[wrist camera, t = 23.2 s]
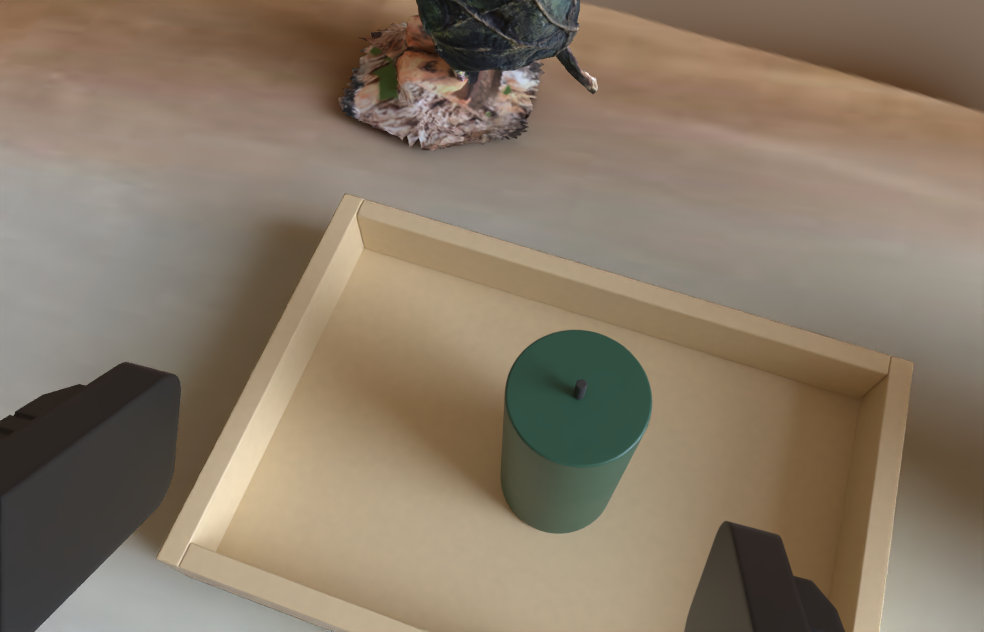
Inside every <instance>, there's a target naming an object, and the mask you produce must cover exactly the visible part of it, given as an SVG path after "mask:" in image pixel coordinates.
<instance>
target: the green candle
mask: <svg viewBox="0 0 984 632" xmlns="http://www.w3.org/2000/svg"><path fill="white" fill-rule="evenodd" d="M651 413H652V391H651V387H650V383H649V380H648V377H647V375H646V373H645V371H644V369H643V367H642V366H641V364H640V363H639V361H638V360H637V359H636V358H635V356H634V355H633V354H632V353H631V352H630V351H629V350H628V349H626V348H625V347H624V346H623V345H621V344H620V343H618V342H617V341H615V340H613V339H611V338H609V337H607V336H605V335H602V334H600V333H596V332H592V331H586V330H564V331H559V332H555V333H551V334H549V335H546V336H544V337H542V338H540V339H538V340H536V341H535V342H533V343H532V344H530V345H529V346H528V347H527V348H526V349H525V350H523V351H522V353H521V354H520V355H519V356H518V357H517V359H516V360H515V362H514V363H513V365H512V367H511V369H510V371H509V374H508V377H507V381H506V386H505V397H504V417H503V436H502V455H501V487H502V491H503V494H504V497H505V499H506V502H507V503H508V505H509V507H510V508H511V510H512V511H513V512H514V513H515V514H516V515H517V516H518V517H519V518H520V519H521V520H522V521H523V522H525V523H526V524H527V525H529V526H531V527H533V528H535V529H537V530H540V531H543V532H547V533H554V534H564V533H571V532H574V531H578V530H580V529H583V528H585V527H586V526H588V525H590V524H591V523H592V522H594V521H595V520H596V519H597V518H598V517H599V516H600V515H601V514H602V512H603V511H604V510H605V508H606V506H607V504H608V502H609V500H610V499H611V497H612V495H613V493H614V491H615V489H616V487H617V485H618V483H619V481H620V479H621V477H622V475H623V473H624V472H625V470H626V468H627V466H628V464H629V462H630V460H631V458H632V456H633V454H634V452H635V450H636V448H637V446H638V445H639V443H640V441H641V439H642V437H643V435H644V433H645V431H646V429H647V427H648V424H649V421H650V418H651Z"/></svg>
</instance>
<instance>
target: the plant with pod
mask: <svg viewBox="0 0 984 632" xmlns="http://www.w3.org/2000/svg"><path fill="white" fill-rule="evenodd" d="M416 2H417V5H418V12H419V15H417V16H411V17H410V20H409V23H408V25H406V23H405V22H403V23H401V24H400V25H398V24H394V23H393V24H391V25H390V26H389V27H388V28H386V29H385V30H378V31H384V32H373V33H371V36H372V39H370V38H361V39H363V40H366V41H368V42H371V43H373V44H372V45H370V46H368V47H366V48H364V49H363V50H361V52H365V53H369V54H367V55H365V56H363V57H361V58H360V68H352V71H353V74H354V75H353V76H352V77H351V78H350V79H351V80H352V81H353V82H352V83H349V84H347V85H349V86H350V87H351V88H352V89H348V88H343V90H344V92H345V95H346V96H343V97H340V98H338V100H339V103H340V107H342V108H343V109H344V110H343V111H342V112H347V114H346V116H353V118H358V121H363V122H364V123H368V124H371V126H372V127H373V128H379V129H380V130H385V131H387V132H389V133H390V134H392V135H396V136H399V137H400V139H401V140H402V139H403V138H404V137H405V136H406V134H407V138H408V141H409V145H410V147H411V146H412V145H413V144H414V143H415V141H416V140H417V139H418V138H419V139H420V143H421V147H422V150H433V151H435V150H436V149H437V148H438V147H439V148H440V149H441V147H442V148H443V149H444V148H445V147H450V146H452V145H458V144H459V143H460V144H461V145H463V143H464V142H465V143H475V142H478V143H481V144H484V142H490V140H491V139H494V140H495V138H494V136H495V137H497V138H499V139H503V138H504V137H505V138H507V139H509V137H508V136H510V137H513V138H516V139H517V137H516V136H517V135H521V133H520V132H526V130H523V129H525V128H528V126H525V125H523V124H528V122H527V120H526V119H527V118H528V117H529V115H530V112H531V111H532V110H533V109H534V107H533V105H532V103H531V101H530V99H529V98H535V99H537V97H536V95H535V94H534V93H535V92H536V91H538V90H537V89H534V87H536V86H538V85H539V84H538V83H536V82H535V81H537V82H539V83H540V81H539V76H540V75H542V74H543V73H544V72H543V71H542V70H541V69H539V68H538V67H540V66H542V65H544V64H543V63H542V62H541V61H540V60H539V59H545V58H550V57H554V56H555V55H556V57H557V58H558V59H559V61H560V62H561V63H562V64H563V65H564V66H565V68H566V70H567V71H568V72H569V73H570V74H571V75H572V76H573V77H574V78H575V79H576V80H577V81H579V82H580V83H581V84H582V85H583V86H584V87H585V88H586V89H587V90H588V91H589V92H591V93H592V94H594V93H595V92H596V91H597V89H598V86H597V83H596V82H597V80H596V78H595V77H592V76H590V75H589V74H588V73H586V72H585V71H582V70H581V69H580V68H579V66H578V62H577V60H576V58H575V57H574V56H573V54H572V52H571V50H570V48H569V47H568V45H569V44H570V43H571V42H572V41H573V38H574V36H575V35H576V34H577V32H578V31H579V23H577V20H578V15H579V11H580V0H416ZM358 38H360V37H358ZM534 80H535V81H534Z"/></svg>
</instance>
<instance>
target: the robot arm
mask: <svg viewBox="0 0 984 632" xmlns="http://www.w3.org/2000/svg"><path fill="white" fill-rule="evenodd" d="M180 395H181V386H180V381H179V378H178V377H177V376H176V375H175V374H172V373H168V372H164V371H160V370H156V369H153V368H149V367H145V366H141V365H137V364H134V363H130V362H123V363H121V364H119V365H117V366H116V367H114V368H113V369H111V370H109V371H108V372H106V373H105V374H103V375H102V376H100V377H99V378H97V379H95V380H94V381H92V382H91V383H89V384H88V385H86V386H85V385H81V384H78V385H75V386H71V387H68V388H65V389H61V390H58V391H54V392H51V393H48V394H44V395H42V396H40V397H38V398H37V399H35V400H34V401H32V402H30V403H29V404H27V405H25V406H24V407H22V408H20V409H19V410H17V411H15V414H14V416H12V415H9V416H7V417H6V418H4V419H2V420H1V421H0V632H34V631H35V630H36V629H37V628H38V627H39V626H40V625H41V624H42V623H43V622H44V621H45V620H46V619H47V618H48V617H49V616H50V615H51V614H52V613H53V612H54V611H55V610H56V609H57V608H58V607H59V606H60V605H61V604H62V603H63V602H64V601H65V600H66V599H67V598H68V597H69V596H70V595H71V594H72V593H73V592H74V591H75V590H76V589H77V588H78V587H79V586H80V585H81V584H82V583H83V582H84V581H85V580H86V579H87V578H88V577H89V576H90V575H91V574H92V573H93V572H94V571H95V570H96V569H97V568H98V567H99V566H100V565H101V564H102V563H103V562H104V561H105V560H106V559H107V558H108V557H109V556H110V555H111V554H112V553H113V552H114V551H115V550H116V549H117V548H118V547H119V546H120V545H121V544H122V543H123V542H124V541H125V540H126V539H127V538H128V537H129V536H130V535H131V534H132V533H133V532H134V531H135V530H136V529H137V528H138V527H139V526H140V525H141V524H142V523H143V522H144V521H145V520H146V519H147V518H148V517H149V516H150V515H151V514H152V513H153V512H154V511H155V510H156V509H157V508H158V506H159V505H160V503H161V502H162V500H163V499H164V497H165V495H166V493H167V490H168V488H169V485H170V483H171V479H172V476H173V471H174V463H175V451H176V440H177V429H178V417H179V406H180ZM684 632H845V630H844V627H843V625H842V622H841V619H840V617H839V614H838V611H837V609H836V608H835V607H834V606H833V605H832V603H831V602H830V601H829V600H828V599H827V598H826V596H825V595H824V594H823V593H822V592H821V591H820V589H819V588H818V587H817V586H816V585H815V583H814V582H813V581H812V580H808V579H804V578H800V577H797V576H793V573H792V570H791V566H790V563H789V560H788V557H787V554H786V551H785V548H784V544H783V541H782V539H781V537H780V536H779V535H778V534H775V533H771V532H767V531H763V530H760V529H756V528H752V527H748V526H744V525H741V524H737V523H733V522H729V521H724V522H723V523H722V524H721V526H720V527H719V529H718V531H717V534H716V536H715V539H714V542H713V545H712V547H711V550H710V553H709V556H708V559H707V561H706V564H705V567H704V570H703V573H702V575H701V578H700V581H699V584H698V587H697V589H696V592H695V595H694V598H693V601H692V604H691V606H690V609H689V613H688V616H687V620H686V625H685V630H684Z"/></svg>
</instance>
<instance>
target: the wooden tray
mask: <svg viewBox="0 0 984 632" xmlns="http://www.w3.org/2000/svg"><path fill="white" fill-rule="evenodd" d="M564 330H586V331H592V332H596V333H600V334H602V335H605V336H607V337H609V338H611V339H613V340H615V341H617V342H618V343H620V344H621V345H623V346H624V347H625V348H626V349H628V350H629V351H630V352H631V353H632V354H633V355H634V356H635V358H636V359H637V360H638V361H639V363H640V364H641V366H642V367H643V369H644V371H645V373H646V375H647V377H648V380H649V383H650V387H651V391H652V413H651V418H650V421H649V424H648V427H647V429H646V431H645V433H644V435H643V437H642V439H641V441H640V443H639V445H638V446H637V448H636V450H635V452H634V454H633V456H632V458H631V460H630V462H629V464H628V466H627V468H626V470H625V472H624V473H623V475H622V477H621V479H620V481H619V483H618V485H617V487H616V489H615V491H614V493H613V495H612V497H611V499H610V500H609V502H608V504H607V506H606V508H605V510H604V511H603V512H602V514H601V515H600V516H599V517H598V518H597V519H596V520H595V521H594V522H592V523H591V524H590V525H588V526H586V527H585V528H583V529H580V530H578V531H574V532H571V533H564V534H554V533H547V532H543V531H540V530H537V529H535V528H533V527H531V526H529V525H527V524H526V523H525V522H523V521H522V520H521V519H520V518H519V517H518V516H517V515H516V514H515V513H514V512H513V511H512V510H511V508H510V507H509V505H508V503H507V502H506V499H505V497H504V494H503V491H502V487H501V455H502V436H503V417H504V397H505V386H506V381H507V377H508V374H509V371H510V369H511V367H512V365H513V363H514V362H515V360H516V359H517V357H518V356H519V355H520V354H521V353H522V351H523V350H525V349H526V348H527V347H528V346H529V345H530V344H532V343H533V342H535V341H536V340H538V339H540V338H542V337H544V336H546V335H549V334H551V333H555V332H559V331H564ZM913 366H914V363H913V362H911V361H908V360H904V359H901V358H898V357H894V356H891V357H890V356H889V355H887V354H883V353H880V352H876V351H873V350H870V349H866V348H863V347H860V346H856V345H853V344H850V343H846V342H843V341H839V340H836V339H833V338H829V337H826V336H823V335H819V334H816V333H813V332H809V331H806V330H803V329H799V328H796V327H792V326H789V325H786V324H782V323H779V322H776V321H772V320H769V319H766V318H762V317H759V316H755V315H752V314H749V313H745V312H742V311H739V310H735V309H732V308H729V307H725V306H722V305H718V304H715V303H712V302H708V301H705V300H702V299H698V298H695V297H692V296H688V295H685V294H682V293H678V292H675V291H671V290H668V289H665V288H661V287H658V286H655V285H651V284H648V283H645V282H641V281H638V280H634V279H631V278H628V277H624V276H621V275H618V274H614V273H611V272H608V271H604V270H601V269H598V268H594V267H591V266H587V265H584V264H581V263H577V262H574V261H571V260H567V259H564V258H561V257H557V256H554V255H550V254H547V253H544V252H540V251H537V250H534V249H530V248H527V247H524V246H520V245H517V244H513V243H510V242H507V241H503V240H500V239H497V238H493V237H490V236H487V235H483V234H480V233H477V232H473V231H470V230H466V229H463V228H460V227H456V226H453V225H450V224H446V223H443V222H440V221H436V220H433V219H429V218H426V217H423V216H419V215H416V214H413V213H409V212H406V211H403V210H399V209H396V208H393V207H389V206H386V205H382V204H379V203H376V202H372V201H369V200H363V199H362V198H359V197H356V196H353V195H349V194H344V196H343V198H342V200H341V202H340V204H339V206H338V208H337V210H336V212H335V214H334V216H333V217H332V219H331V221H330V223H329V225H328V227H327V229H326V231H325V233H324V235H323V237H322V239H321V241H320V243H319V244H318V246H317V248H316V250H315V252H314V254H313V256H312V258H311V260H310V262H309V264H308V266H307V268H306V270H305V272H304V273H303V275H302V277H301V279H300V281H299V283H298V285H297V287H296V289H295V291H294V293H293V295H292V297H291V299H290V300H289V302H288V304H287V306H286V308H285V310H284V312H283V314H282V316H281V318H280V320H279V322H278V324H277V326H276V328H275V329H274V331H273V333H272V335H271V337H270V339H269V341H268V343H267V345H266V347H265V349H264V351H263V353H262V355H261V356H260V358H259V360H258V362H257V364H256V366H255V368H254V370H253V372H252V374H251V376H250V378H249V380H248V382H247V383H246V385H245V387H244V389H243V391H242V393H241V395H240V397H239V399H238V401H237V403H236V405H235V407H234V409H233V411H232V412H231V414H230V416H229V418H228V420H227V422H226V424H225V426H224V428H223V430H222V432H221V434H220V436H219V438H218V439H217V441H216V443H215V445H214V447H213V449H212V451H211V453H210V455H209V457H208V459H207V461H206V463H205V465H204V466H203V468H202V470H201V472H200V474H199V476H198V478H197V480H196V482H195V484H194V486H193V488H192V490H191V492H190V494H189V495H188V497H187V499H186V501H185V503H184V505H183V507H182V509H181V511H180V513H179V515H178V517H177V519H176V521H175V522H174V524H173V526H172V528H171V530H170V532H169V534H168V536H167V538H166V540H165V542H164V544H163V546H162V548H161V550H160V551H159V553H158V555H157V559H158V560H159V561H161V562H163V563H165V564H167V565H169V566H170V567H172V568H174V569H176V570H178V571H180V572H182V573H183V574H185V575H187V576H189V577H191V578H194V579H196V580H199V581H202V582H204V583H207V584H209V585H212V586H215V587H217V588H220V589H223V590H225V591H228V592H231V593H233V594H236V595H238V596H241V597H244V598H246V599H249V600H252V601H254V602H257V603H259V604H262V605H265V606H267V607H270V608H273V609H275V610H278V611H280V612H283V613H286V614H288V615H291V616H294V617H296V618H299V619H301V620H304V621H307V622H309V623H312V624H315V625H317V626H320V627H322V628H325V629H328V630H330V631H333V632H684V630H685V625H686V620H687V616H688V613H689V609H690V606H691V604H692V601H693V598H694V595H695V592H696V589H697V587H698V584H699V581H700V578H701V575H702V573H703V570H704V567H705V564H706V561H707V559H708V556H709V553H710V550H711V547H712V545H713V542H714V539H715V536H716V534H717V531H718V529H719V527H720V526H721V524H722V523H723V522H724V521H729V522H733V523H737V524H741V525H744V526H748V527H752V528H756V529H760V530H763V531H767V532H771V533H775V534H778V535H779V536H780V537H781V539H782V541H783V544H784V548H785V551H786V554H787V557H788V560H789V563H790V566H791V570H792V573H793V576H797V577H800V578H804V579H808V580H812V581H813V582H814V583H815V585H816V586H817V587H818V588H819V589H820V591H821V592H822V593H823V594H824V595H825V596H826V598H827V599H828V600H829V601H830V602H831V603H832V605H833V606H834V607H835V608H836V609H837V611H838V614H839V617H840V619H841V622H842V625H843V627H844V630H845V632H880V625H881V617H882V609H883V601H884V593H885V585H886V578H887V570H888V562H889V554H890V546H891V538H892V530H893V523H894V515H895V507H896V499H897V491H898V483H899V476H900V468H901V460H902V452H903V444H904V436H905V428H906V421H907V413H908V405H909V397H910V389H911V381H912V374H913Z"/></svg>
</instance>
